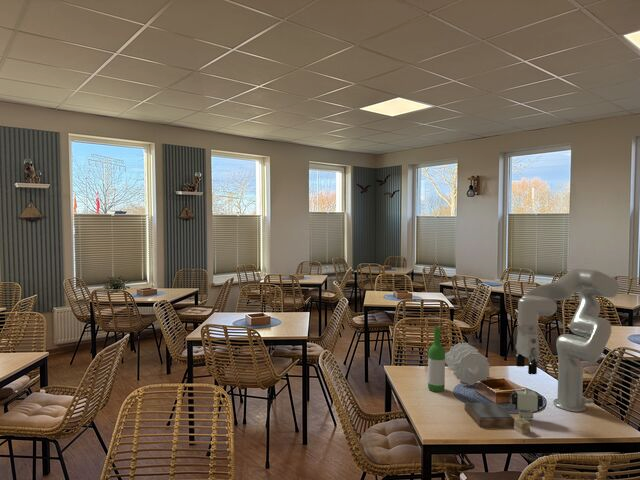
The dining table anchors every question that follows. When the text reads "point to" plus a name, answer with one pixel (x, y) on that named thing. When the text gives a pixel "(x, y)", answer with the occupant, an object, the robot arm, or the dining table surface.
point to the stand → (489, 415)
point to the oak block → (522, 426)
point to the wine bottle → (436, 364)
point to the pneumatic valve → (526, 403)
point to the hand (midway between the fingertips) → (526, 370)
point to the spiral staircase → (467, 363)
